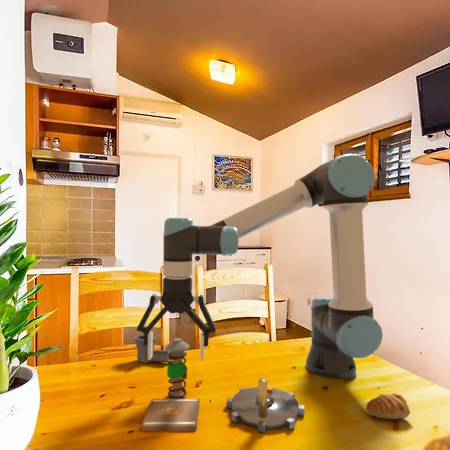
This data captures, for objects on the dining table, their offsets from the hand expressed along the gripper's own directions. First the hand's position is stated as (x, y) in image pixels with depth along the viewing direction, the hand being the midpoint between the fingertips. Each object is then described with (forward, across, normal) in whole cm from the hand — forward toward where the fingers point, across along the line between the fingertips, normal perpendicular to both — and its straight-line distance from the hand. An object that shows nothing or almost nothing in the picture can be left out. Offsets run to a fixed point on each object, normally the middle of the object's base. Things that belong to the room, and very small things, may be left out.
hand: (176, 358), depth 91 cm
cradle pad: (+10, 0, +9) cm, 13 cm away
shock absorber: (+10, 0, 0) cm, 10 cm away
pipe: (+10, +11, -24) cm, 28 cm away
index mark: (+10, -25, -4) cm, 27 cm away
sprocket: (+10, -22, +7) cm, 25 cm away
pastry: (+10, -49, +7) cm, 51 cm away
